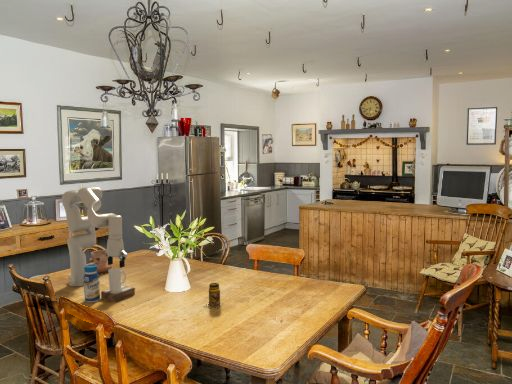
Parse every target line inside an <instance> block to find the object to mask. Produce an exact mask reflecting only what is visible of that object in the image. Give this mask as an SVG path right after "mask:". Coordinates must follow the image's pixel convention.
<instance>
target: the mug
mask: <svg viewBox="0 0 512 384" xmlns="http://www.w3.org/2000/svg"><path fill="white" fill-rule="evenodd" d="M107 272H108V284H109V285H108V287H109V289H110V291H111V292H116V291H120V290H121V285H123V284H125V283H126V278H127V274H126V272H125V269H122V270H121V268H120V267H119V268H117V267H115V268H113V267H112V268H111V269H109V270H108V271H107ZM122 274H123V279H122Z"/></svg>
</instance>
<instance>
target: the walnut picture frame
mask: <svg viewBox="0 0 512 384" xmlns="http://www.w3.org/2000/svg"><path fill="white" fill-rule="evenodd" d="M100 293H101V294H100V299H103V300H107V301H111V302H115V303H116V302H119V301H122V300H124V299H127V298H129V297H132V296H134V295H135V294H136V293H135V287H132V286H127V285H123V284H121V290H120V291H116V292H111V291H110V288H107V289H105V290H101V291H100Z"/></svg>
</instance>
